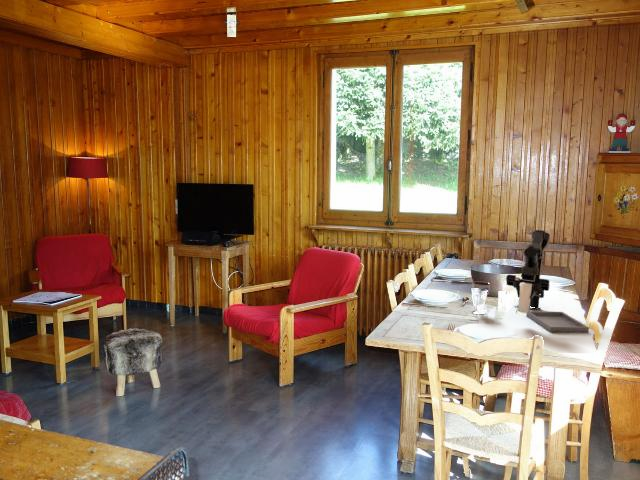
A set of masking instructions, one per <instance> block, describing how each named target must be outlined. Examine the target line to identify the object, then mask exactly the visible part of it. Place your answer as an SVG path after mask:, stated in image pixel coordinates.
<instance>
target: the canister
mask: <svg viewBox="0 0 640 480" xmlns="http://www.w3.org/2000/svg"><path fill="white" fill-rule="evenodd" d="M531 290H532V284H531V283H527V282H521V283H520V293H519V297H518V303H517V305H518V306H517V311H518V312H520V313H525V314H527V313H528V312H529V311H530V310H531V309H530V300H531V299H530V296H531Z"/></svg>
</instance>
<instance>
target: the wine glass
mask: <svg viewBox="0 0 640 480" xmlns="http://www.w3.org/2000/svg"><path fill="white" fill-rule="evenodd" d="M490 287H491V284H490V283H489V282H487V281H478V280H476V281H473V282H472V289H473V288H479V289H487V290H488V292H487V296H488V295H489V292H490ZM471 313H472V314H473V315H476V316H477V315H478V312H477V310H472V311H471Z"/></svg>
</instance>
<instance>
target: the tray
mask: <svg viewBox="0 0 640 480" xmlns="http://www.w3.org/2000/svg"><path fill="white" fill-rule="evenodd" d="M525 317H526V318H528V319H530V320H531V321H532V322H534V323H535V324H537V325H538V326H540V327H541V328H542V329H544V330H546V332H548V333H556V334H557V333H563V334H564V333H565V334H567V333H570V334H571V333H573V334H575V333H577V334H581V333H584V334H586V333H587V334H588V333H589V328H590V327H589V326H587V325H586V324H584V323H582V322H580V321H579V320H577V319H575V318H574V317H572V316H569V315H568V314H567V313H565V312H564V311H534V310H533V311H531V310H529V312H528V313H526V316H525Z"/></svg>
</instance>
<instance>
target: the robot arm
mask: <svg viewBox="0 0 640 480" xmlns="http://www.w3.org/2000/svg"><path fill="white" fill-rule="evenodd" d="M530 240H531V241H532V242H531V243H530V244H528V245H527V247H526V248H525V249H524V250H523V258H524V265H523V266H522V269H521V276H520V277H521V278H520V277H517V276H516V275H517V274H507V275H506V276H505V280H506V281H505V282H506V285H507V286H510V287H511V286H512V287H513V288H515V290H516V294H517V297H518V298H519V293H520V283H521V282H527V283H531V284H532V290H531V296H530V299H531V300H530V306H531V307H535V308H538V307H539V305H540V299H542V298H543V299H544V297H545V291H546V292H548V291H549V290H550V280H549V279H548V278H547V279H546V278H541V273H542V271H541V270H542V267H543V266H542V264H543V259H544V258H543V257H544V251H545V249H546V248H548V246H549V243H550V240H551V235H550V233H548V232H546V231H545V230H544V229H543V230H540V229H535V230H534V231H532V233H531V239H530Z"/></svg>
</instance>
